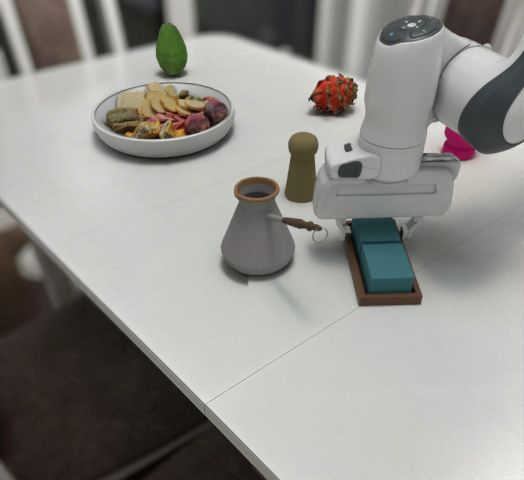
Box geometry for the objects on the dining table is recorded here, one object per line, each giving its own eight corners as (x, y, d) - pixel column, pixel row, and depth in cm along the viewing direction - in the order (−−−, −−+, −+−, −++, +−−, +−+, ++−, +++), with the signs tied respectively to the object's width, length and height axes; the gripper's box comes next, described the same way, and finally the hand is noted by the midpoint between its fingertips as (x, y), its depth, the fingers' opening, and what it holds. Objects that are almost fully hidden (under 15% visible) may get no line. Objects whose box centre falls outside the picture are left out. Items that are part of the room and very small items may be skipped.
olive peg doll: (278, 190, 98) (279, 132, 90) (306, 182, 100) (309, 124, 92) (294, 206, 94) (297, 146, 86) (323, 197, 96) (328, 138, 88)
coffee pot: (209, 254, 85) (200, 166, 74) (270, 232, 89) (270, 146, 78) (280, 335, 72) (282, 244, 61) (347, 305, 76) (360, 215, 65)
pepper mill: (437, 158, 105) (464, 48, 91) (441, 142, 110) (467, 35, 95) (475, 164, 104) (509, 52, 89) (477, 147, 108) (510, 39, 94)
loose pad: (386, 231, 87) (390, 210, 84) (396, 261, 82) (401, 240, 79) (350, 232, 87) (353, 211, 84) (357, 262, 82) (361, 241, 79)
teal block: (397, 264, 81) (402, 243, 78) (409, 299, 76) (414, 277, 73) (358, 265, 81) (362, 244, 78) (367, 300, 76) (371, 278, 73)
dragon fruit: (360, 116, 123) (311, 129, 122) (348, 83, 123) (300, 96, 123) (368, 94, 114) (315, 109, 114) (356, 59, 115) (303, 73, 114)
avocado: (170, 82, 133) (163, 29, 125) (153, 74, 137) (145, 22, 129) (195, 74, 137) (190, 22, 128) (177, 66, 141) (171, 15, 132)
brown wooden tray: (392, 230, 89) (394, 218, 87) (419, 308, 76) (422, 296, 74) (340, 232, 89) (341, 220, 87) (358, 310, 75) (360, 298, 74)
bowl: (69, 153, 108) (58, 115, 102) (135, 96, 128) (129, 61, 122) (205, 174, 102) (202, 134, 96) (253, 111, 121) (252, 74, 116)
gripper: (457, 141, 75) (435, 224, 85) (314, 145, 75) (309, 228, 85) (470, 163, 71) (445, 248, 81) (319, 167, 71) (312, 252, 81)
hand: (374, 238), depth 83 cm, fingers open, 8 cm apart
